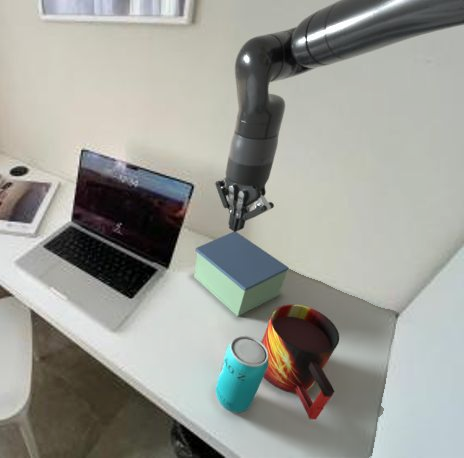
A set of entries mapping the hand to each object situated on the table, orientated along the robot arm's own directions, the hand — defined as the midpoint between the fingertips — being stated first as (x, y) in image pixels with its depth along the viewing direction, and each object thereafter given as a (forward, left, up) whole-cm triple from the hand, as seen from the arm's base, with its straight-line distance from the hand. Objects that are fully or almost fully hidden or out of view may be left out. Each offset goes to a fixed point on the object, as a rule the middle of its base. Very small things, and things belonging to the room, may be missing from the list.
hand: (235, 228), depth 76 cm
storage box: (-3, +2, -15) cm, 15 cm away
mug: (-18, +19, -15) cm, 30 cm away
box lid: (-2, +1, -7) cm, 7 cm away
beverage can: (-10, +29, -15) cm, 34 cm away
